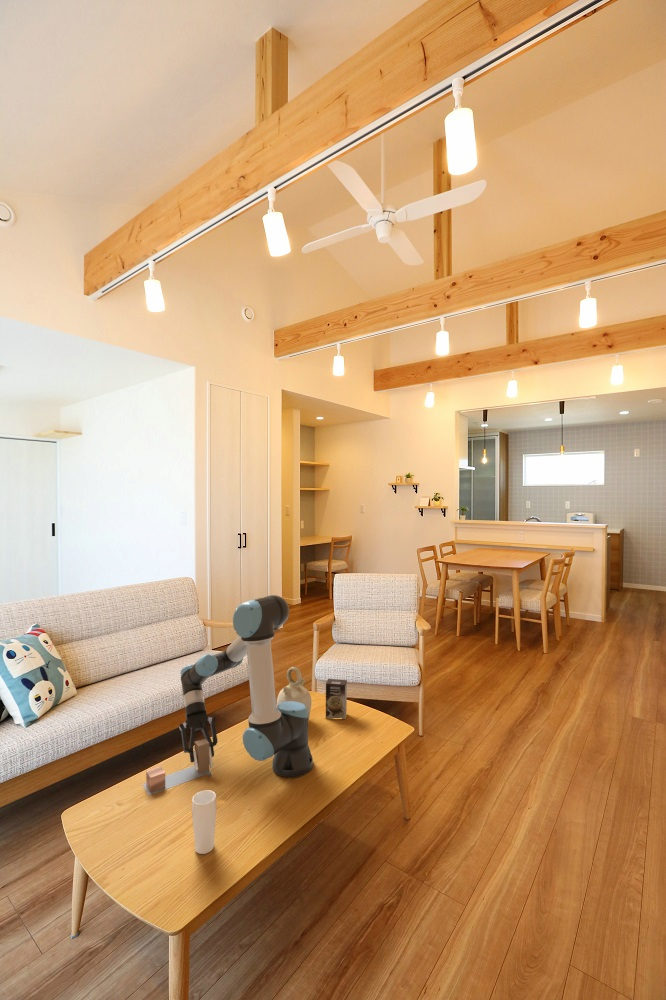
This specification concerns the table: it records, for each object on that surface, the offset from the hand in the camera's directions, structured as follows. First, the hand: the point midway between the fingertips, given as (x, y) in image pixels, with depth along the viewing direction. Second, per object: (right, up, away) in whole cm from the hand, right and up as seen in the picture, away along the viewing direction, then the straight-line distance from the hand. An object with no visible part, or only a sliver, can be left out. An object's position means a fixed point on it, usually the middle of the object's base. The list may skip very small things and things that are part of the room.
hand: (204, 768), depth 171 cm
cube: (-15, -2, -6) cm, 16 cm away
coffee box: (+48, -3, +46) cm, 67 cm away
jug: (+29, -3, +40) cm, 50 cm away
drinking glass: (+9, -4, -34) cm, 35 cm away
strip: (-9, -3, -2) cm, 10 cm away
